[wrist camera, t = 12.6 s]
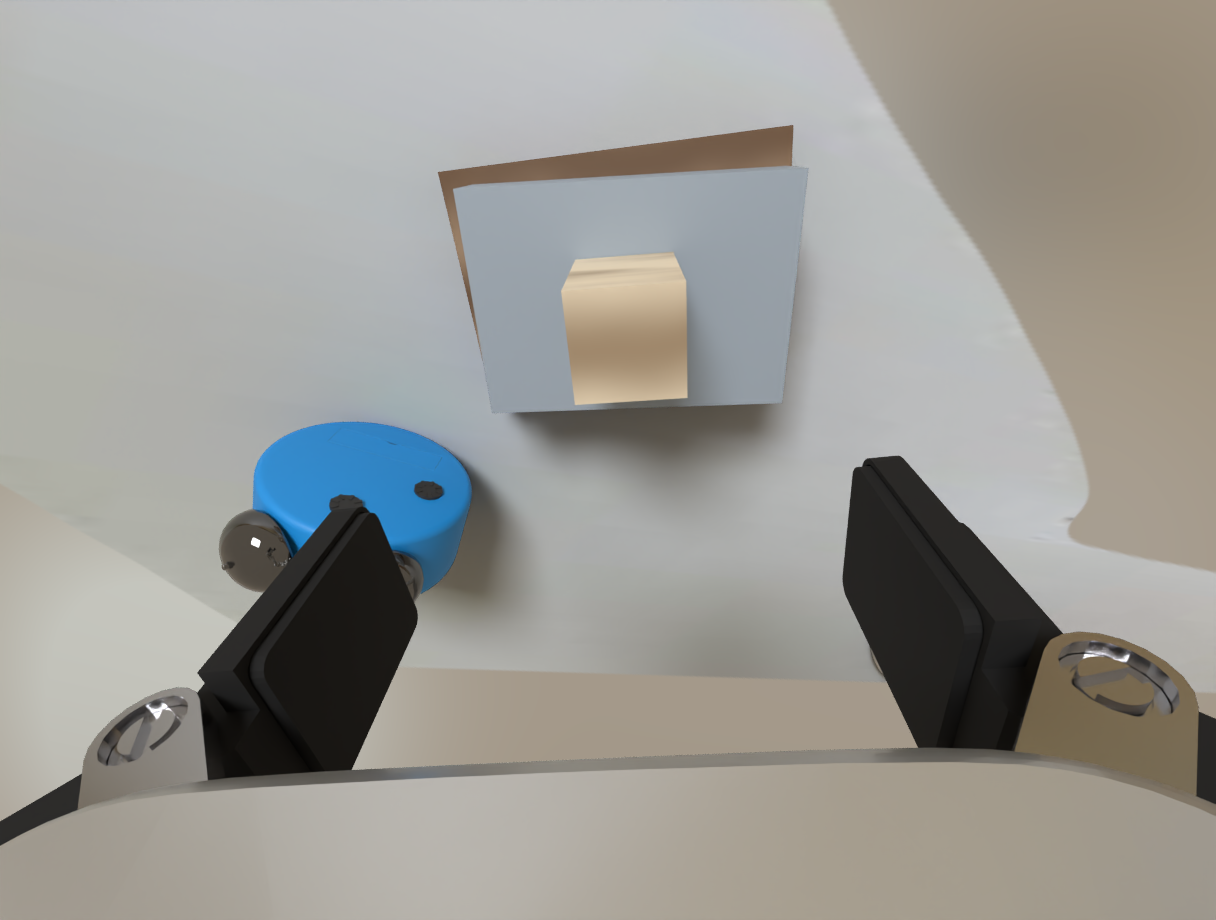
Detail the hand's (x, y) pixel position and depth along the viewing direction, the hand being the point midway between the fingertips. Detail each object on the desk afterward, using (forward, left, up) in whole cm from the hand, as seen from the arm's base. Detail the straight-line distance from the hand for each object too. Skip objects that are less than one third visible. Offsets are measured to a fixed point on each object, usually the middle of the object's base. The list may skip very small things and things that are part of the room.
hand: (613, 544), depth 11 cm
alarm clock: (-12, +19, -28) cm, 36 cm away
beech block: (0, 0, -21) cm, 21 cm away
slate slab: (-1, 0, -25) cm, 25 cm away
